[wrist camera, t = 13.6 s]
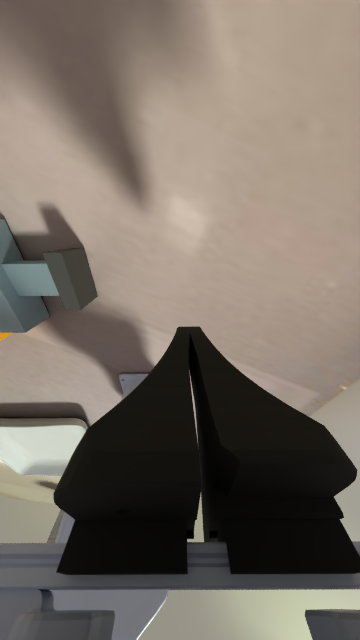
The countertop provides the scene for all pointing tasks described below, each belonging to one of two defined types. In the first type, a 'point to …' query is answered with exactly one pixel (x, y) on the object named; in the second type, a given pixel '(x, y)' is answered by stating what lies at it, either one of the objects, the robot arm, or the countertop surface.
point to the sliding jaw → (39, 283)
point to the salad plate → (39, 444)
